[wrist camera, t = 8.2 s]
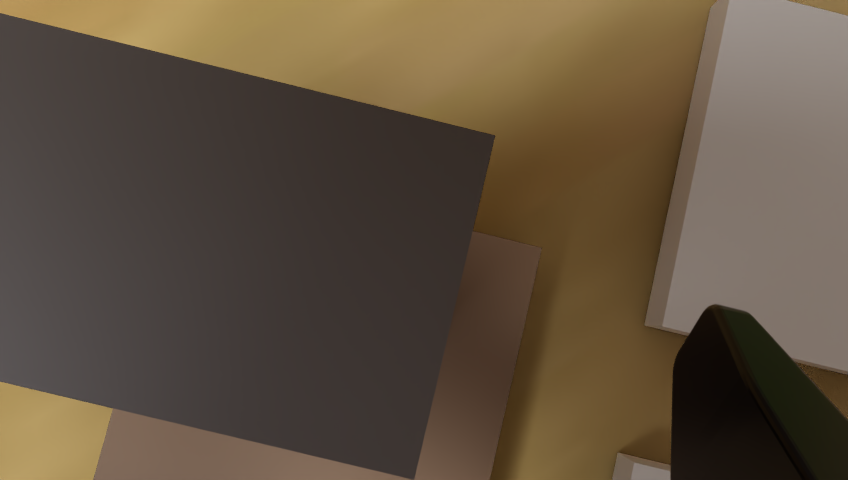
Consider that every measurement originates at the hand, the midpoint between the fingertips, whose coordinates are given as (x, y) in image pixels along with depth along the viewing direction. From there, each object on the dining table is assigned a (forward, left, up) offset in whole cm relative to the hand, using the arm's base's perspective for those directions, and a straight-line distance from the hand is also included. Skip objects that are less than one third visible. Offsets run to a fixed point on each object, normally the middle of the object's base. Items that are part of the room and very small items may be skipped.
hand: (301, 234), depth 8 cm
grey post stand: (-7, -3, -9) cm, 12 cm away
